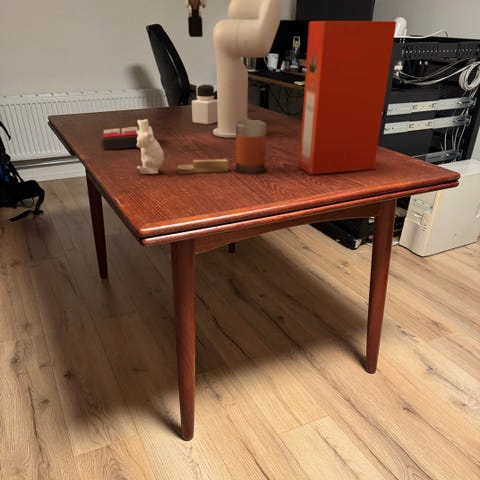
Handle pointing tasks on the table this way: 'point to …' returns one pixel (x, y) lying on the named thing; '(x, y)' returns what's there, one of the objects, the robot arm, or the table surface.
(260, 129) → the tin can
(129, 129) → the calculator
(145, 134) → the white squirrel figurine
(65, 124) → the table surface
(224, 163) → the wooden spoon
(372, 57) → the file binder
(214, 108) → the medicine bottle
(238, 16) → the robot arm
